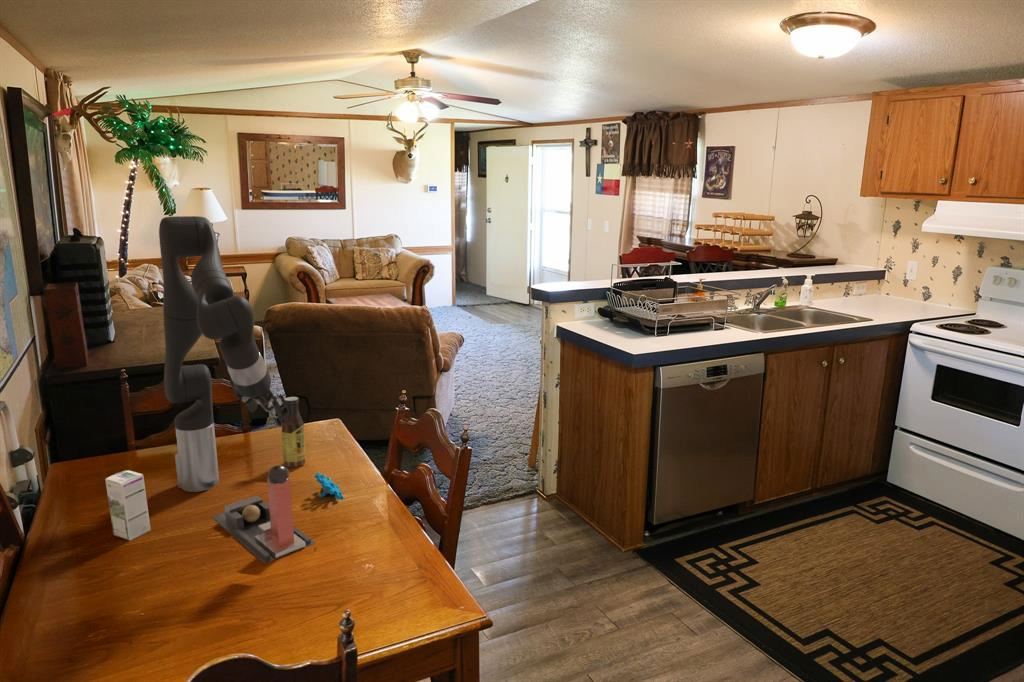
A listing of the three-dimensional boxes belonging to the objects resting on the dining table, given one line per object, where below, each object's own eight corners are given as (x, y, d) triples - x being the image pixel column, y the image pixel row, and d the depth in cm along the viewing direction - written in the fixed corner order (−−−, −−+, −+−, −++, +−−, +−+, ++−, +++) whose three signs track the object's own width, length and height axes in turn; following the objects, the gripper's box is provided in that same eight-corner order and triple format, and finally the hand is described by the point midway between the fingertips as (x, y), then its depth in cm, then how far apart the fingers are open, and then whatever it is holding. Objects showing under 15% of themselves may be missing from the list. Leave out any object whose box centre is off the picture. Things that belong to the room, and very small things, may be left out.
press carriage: (254, 540, 151) (248, 461, 146) (284, 529, 156) (278, 452, 151) (275, 558, 144) (269, 475, 140) (305, 546, 149) (300, 466, 144)
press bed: (212, 522, 162) (210, 503, 161) (260, 506, 170) (258, 488, 169) (265, 569, 143) (263, 548, 141) (316, 549, 151) (315, 528, 150)
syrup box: (151, 530, 158) (144, 473, 155) (128, 541, 153) (120, 483, 149) (135, 524, 160) (128, 468, 157) (111, 536, 155) (103, 478, 152)
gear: (349, 501, 170) (318, 477, 167) (332, 519, 169) (301, 495, 167) (346, 488, 181) (318, 465, 178) (331, 505, 180) (302, 482, 177)
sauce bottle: (302, 468, 192) (298, 402, 188) (280, 468, 193) (275, 402, 188) (309, 459, 199) (305, 395, 194) (288, 459, 199) (283, 395, 194)
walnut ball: (239, 524, 158) (238, 509, 157) (248, 516, 162) (247, 501, 161) (255, 526, 157) (253, 510, 156) (264, 518, 161) (262, 502, 160)
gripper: (285, 371, 146) (301, 417, 158) (236, 348, 151) (256, 394, 163) (261, 395, 142) (280, 440, 154) (211, 371, 146) (233, 416, 158)
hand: (267, 416), depth 158 cm, fingers open, 8 cm apart
